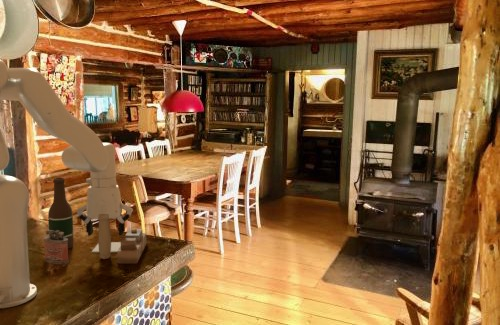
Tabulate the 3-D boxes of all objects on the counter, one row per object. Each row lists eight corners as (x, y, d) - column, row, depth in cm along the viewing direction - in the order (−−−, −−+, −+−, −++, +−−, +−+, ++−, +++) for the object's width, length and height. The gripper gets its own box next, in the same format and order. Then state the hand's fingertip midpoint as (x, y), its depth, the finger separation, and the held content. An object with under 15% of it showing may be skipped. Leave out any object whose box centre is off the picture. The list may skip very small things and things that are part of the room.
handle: (110, 253, 139) (109, 209, 137) (115, 259, 134) (114, 213, 131) (95, 255, 136) (93, 211, 134) (99, 262, 131) (98, 215, 129)
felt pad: (119, 252, 140) (119, 251, 140) (91, 252, 139) (91, 251, 139) (125, 243, 149) (125, 242, 148) (99, 243, 148) (99, 242, 148)
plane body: (137, 263, 131) (136, 240, 130) (117, 263, 130) (116, 240, 129) (146, 243, 149) (146, 223, 148) (129, 243, 148) (128, 223, 147)
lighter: (71, 261, 131) (70, 230, 130) (63, 265, 128) (62, 233, 127) (49, 257, 133) (48, 227, 132) (42, 261, 130) (40, 230, 129)
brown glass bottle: (78, 243, 147) (76, 176, 143) (66, 251, 139) (63, 180, 136) (57, 242, 148) (54, 175, 144) (44, 250, 140) (41, 179, 136)
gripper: (71, 185, 127) (74, 238, 130) (129, 184, 128) (131, 237, 131) (79, 179, 134) (82, 230, 137) (133, 179, 136) (135, 230, 139)
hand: (106, 234), depth 134 cm, fingers open, 9 cm apart
